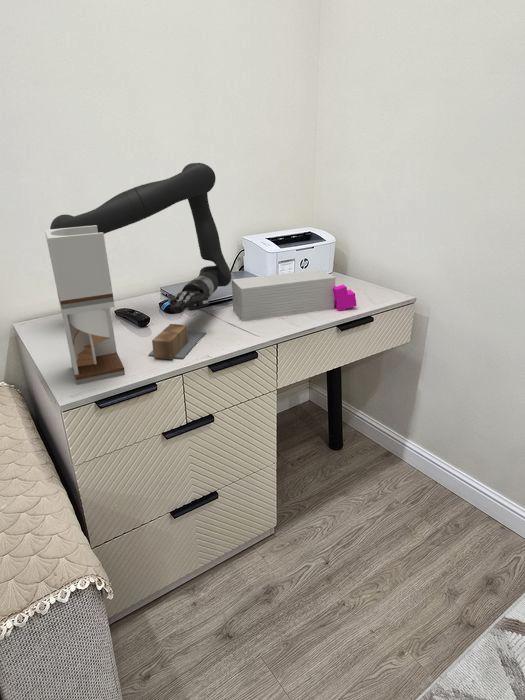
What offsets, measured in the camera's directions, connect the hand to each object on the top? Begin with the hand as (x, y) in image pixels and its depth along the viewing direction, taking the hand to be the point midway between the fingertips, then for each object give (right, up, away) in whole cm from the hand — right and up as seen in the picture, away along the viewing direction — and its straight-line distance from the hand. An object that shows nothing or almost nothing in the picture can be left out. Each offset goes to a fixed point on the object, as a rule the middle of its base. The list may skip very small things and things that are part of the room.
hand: (176, 309), depth 134 cm
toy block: (+50, +6, +33) cm, 60 cm away
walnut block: (0, -6, +4) cm, 7 cm away
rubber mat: (0, -9, +4) cm, 10 cm away
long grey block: (+31, +2, +28) cm, 42 cm away
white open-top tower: (-18, -16, -11) cm, 27 cm away
